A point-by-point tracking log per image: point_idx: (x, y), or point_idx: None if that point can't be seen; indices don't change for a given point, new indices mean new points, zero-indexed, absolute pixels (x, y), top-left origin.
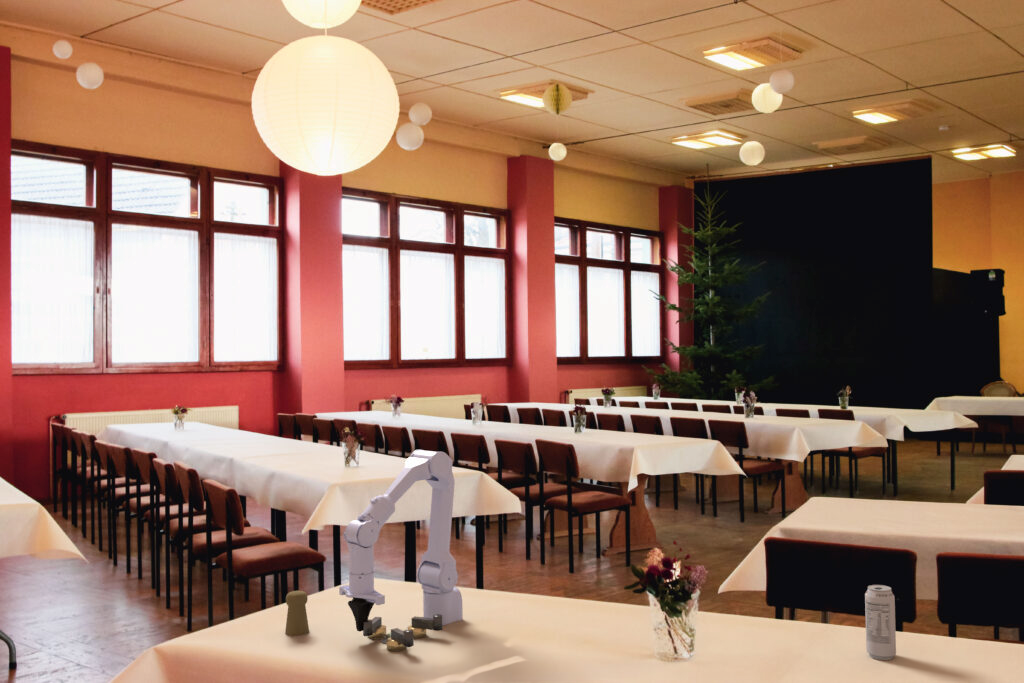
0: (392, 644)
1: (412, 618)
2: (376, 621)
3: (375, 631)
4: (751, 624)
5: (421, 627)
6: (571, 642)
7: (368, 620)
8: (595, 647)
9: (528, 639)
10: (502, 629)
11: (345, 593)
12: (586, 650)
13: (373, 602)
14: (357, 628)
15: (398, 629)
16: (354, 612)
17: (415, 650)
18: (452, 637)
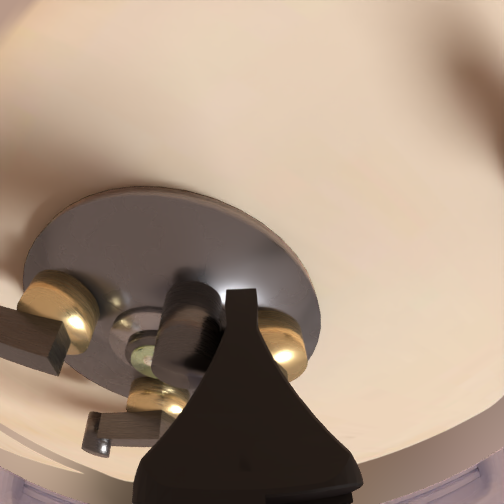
0: (24, 293)
1: (155, 438)
2: None
3: None
4: (44, 460)
5: (131, 415)
6: (33, 426)
7: (190, 377)
8: (10, 419)
9: (61, 426)
10: None
11: (467, 481)
12: (2, 411)
13: (61, 497)
14: (244, 298)
15: (36, 367)
16: (253, 398)
17: None
18: None
